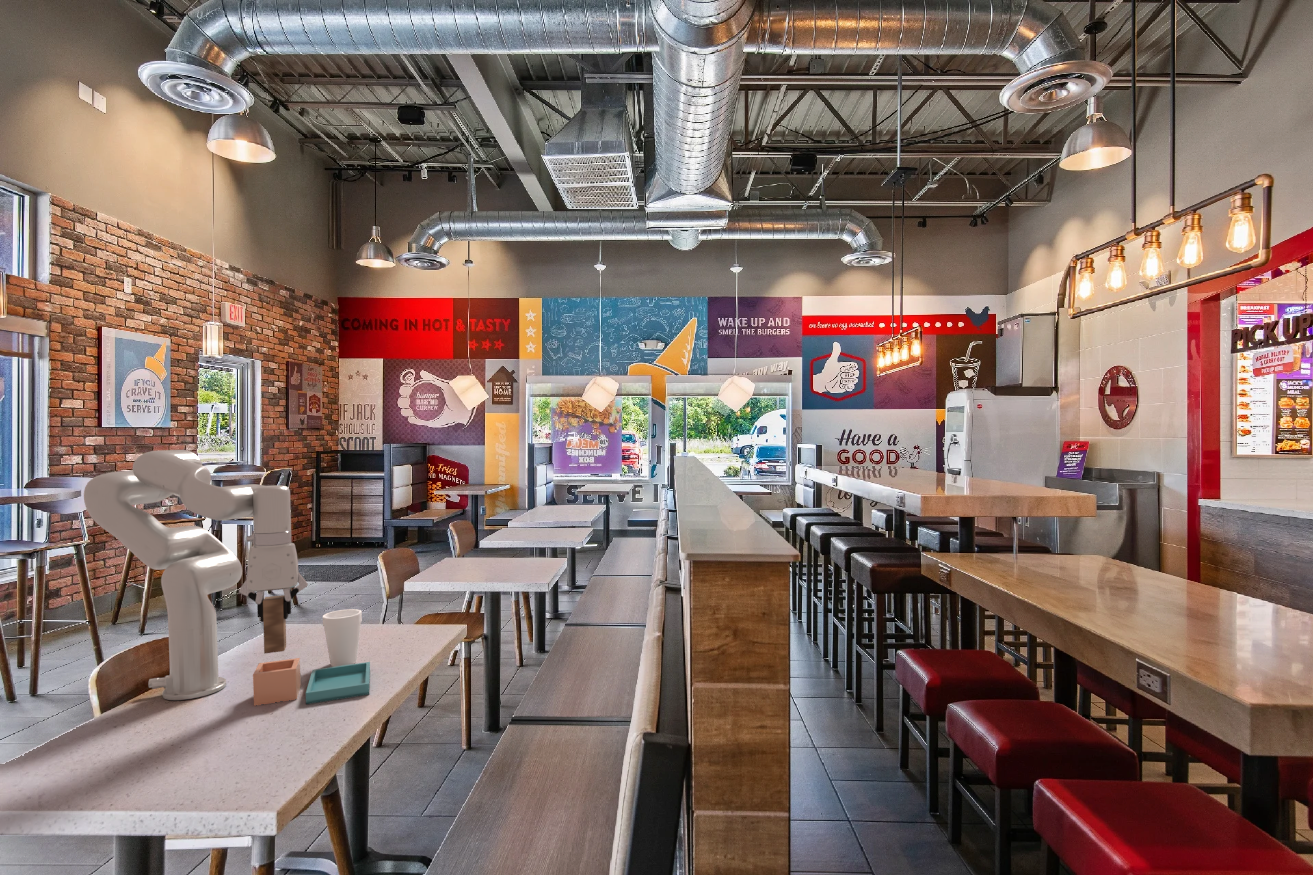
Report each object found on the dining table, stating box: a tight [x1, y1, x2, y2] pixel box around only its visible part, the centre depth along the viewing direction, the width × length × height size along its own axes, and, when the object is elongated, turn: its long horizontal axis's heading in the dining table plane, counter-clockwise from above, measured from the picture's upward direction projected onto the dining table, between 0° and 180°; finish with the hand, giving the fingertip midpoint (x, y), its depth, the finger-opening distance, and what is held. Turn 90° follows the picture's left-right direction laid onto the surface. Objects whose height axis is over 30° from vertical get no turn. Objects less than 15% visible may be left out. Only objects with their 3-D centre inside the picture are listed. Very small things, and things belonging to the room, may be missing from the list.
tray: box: [305, 661, 371, 705], centre depth 164 cm, size 13×17×2 cm
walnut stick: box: [262, 594, 287, 654], centre depth 159 cm, size 4×4×12 cm
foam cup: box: [322, 608, 363, 667], centre depth 182 cm, size 10×9×13 cm
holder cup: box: [252, 657, 302, 707], centre depth 159 cm, size 8×8×7 cm
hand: (274, 617), depth 159 cm, fingers closed on walnut stick, 4 cm apart
